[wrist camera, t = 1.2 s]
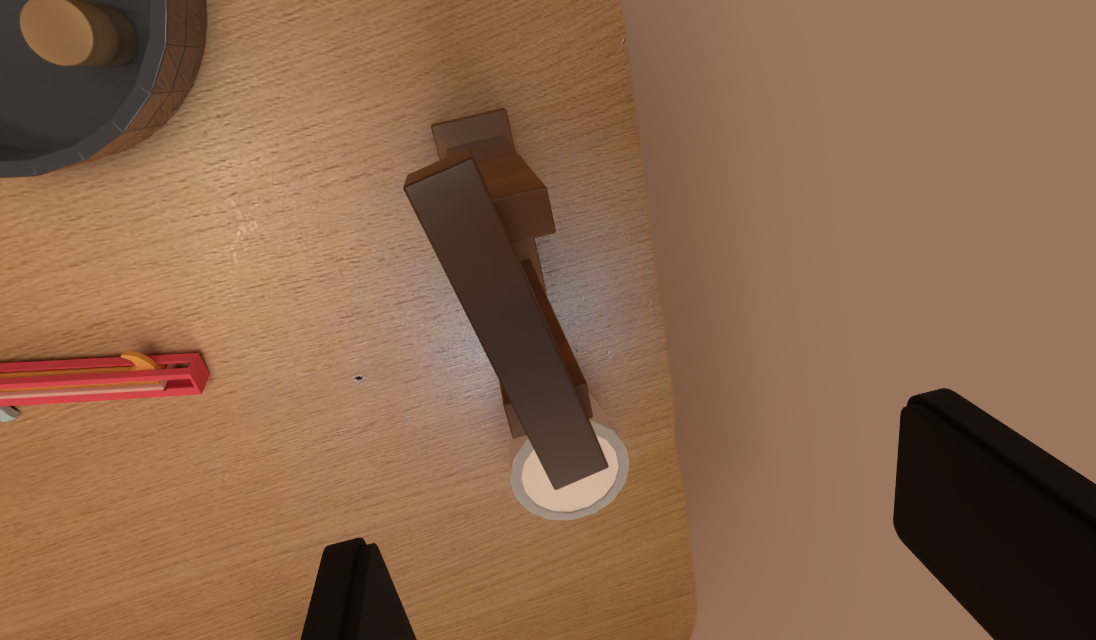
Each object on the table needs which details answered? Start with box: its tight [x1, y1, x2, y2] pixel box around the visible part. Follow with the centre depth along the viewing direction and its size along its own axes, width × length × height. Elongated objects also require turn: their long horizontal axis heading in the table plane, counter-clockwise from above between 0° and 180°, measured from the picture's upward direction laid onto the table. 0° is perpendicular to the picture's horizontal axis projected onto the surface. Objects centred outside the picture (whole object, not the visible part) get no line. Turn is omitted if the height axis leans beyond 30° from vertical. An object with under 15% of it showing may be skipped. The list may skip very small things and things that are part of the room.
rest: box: [431, 108, 593, 439], centre depth 27 cm, size 11×4×16 cm, turn 12°
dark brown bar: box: [403, 148, 609, 490], centre depth 19 cm, size 11×2×2 cm, turn 22°
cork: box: [20, 0, 138, 67], centre depth 26 cm, size 3×3×4 cm
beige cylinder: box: [509, 391, 630, 521], centre depth 37 cm, size 7×7×7 cm
